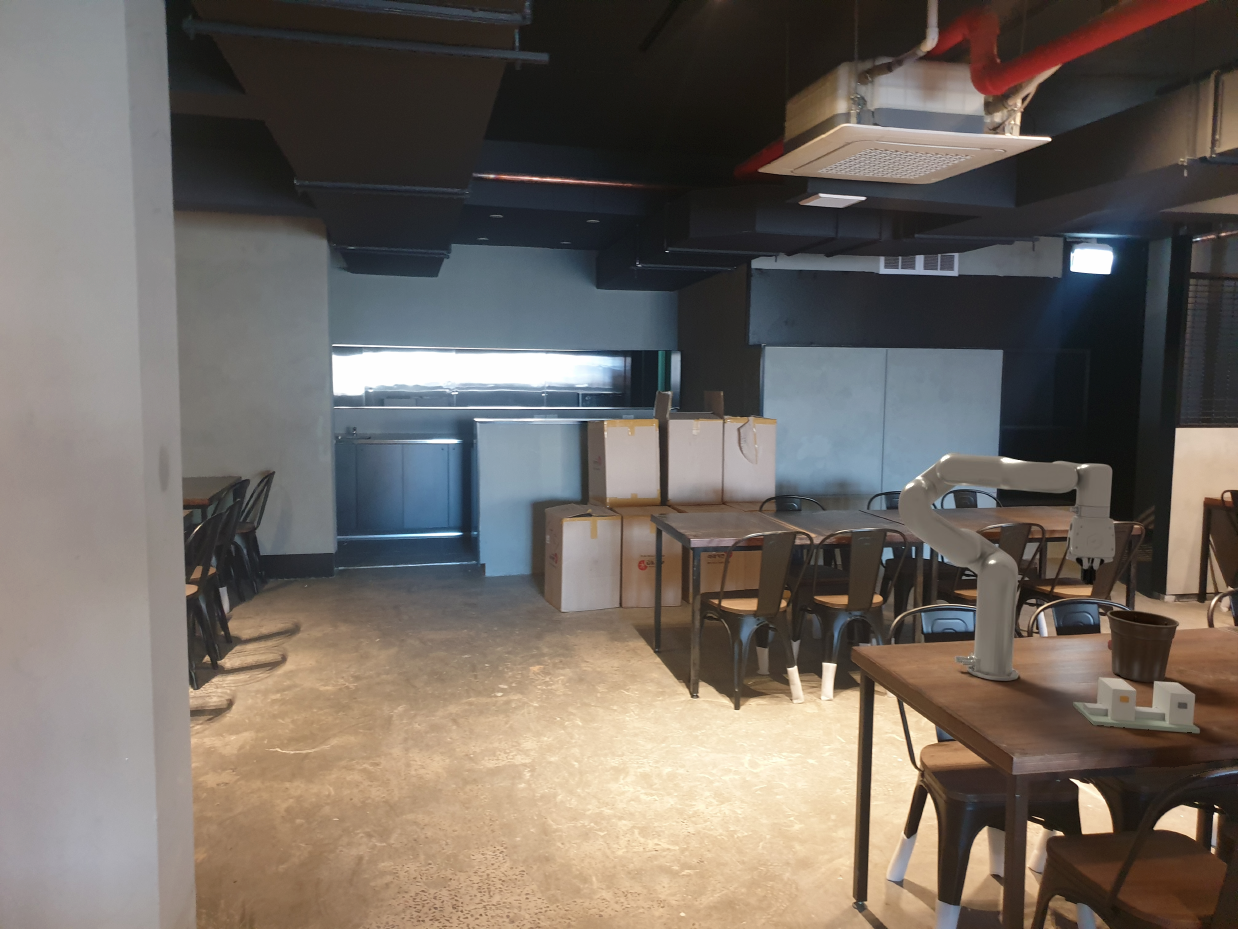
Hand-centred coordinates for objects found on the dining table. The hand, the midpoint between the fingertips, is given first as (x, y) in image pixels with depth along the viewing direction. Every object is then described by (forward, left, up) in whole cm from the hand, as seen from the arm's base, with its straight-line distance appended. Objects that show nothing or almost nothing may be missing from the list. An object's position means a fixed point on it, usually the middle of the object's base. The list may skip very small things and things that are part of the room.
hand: (1087, 583), depth 211 cm
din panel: (+4, -21, -27) cm, 35 cm away
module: (0, -21, -26) cm, 33 cm away
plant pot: (+19, +13, -27) cm, 36 cm away
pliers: (+24, +33, -28) cm, 49 cm away
